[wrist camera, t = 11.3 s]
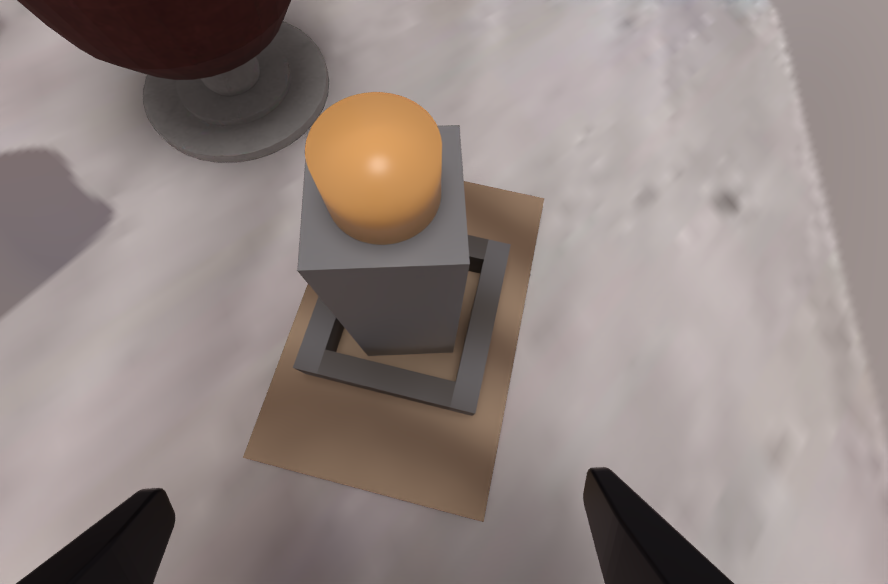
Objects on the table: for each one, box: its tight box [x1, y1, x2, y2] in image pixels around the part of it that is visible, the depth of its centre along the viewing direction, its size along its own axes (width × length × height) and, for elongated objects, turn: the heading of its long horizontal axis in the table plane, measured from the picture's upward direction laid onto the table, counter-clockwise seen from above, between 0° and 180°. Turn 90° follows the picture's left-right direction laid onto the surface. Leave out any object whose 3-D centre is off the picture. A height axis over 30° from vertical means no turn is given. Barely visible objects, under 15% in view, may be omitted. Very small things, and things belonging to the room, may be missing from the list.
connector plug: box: [297, 92, 470, 356], centre depth 16 cm, size 4×4×14 cm
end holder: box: [243, 181, 544, 522], centre depth 23 cm, size 18×12×3 cm, turn 166°
